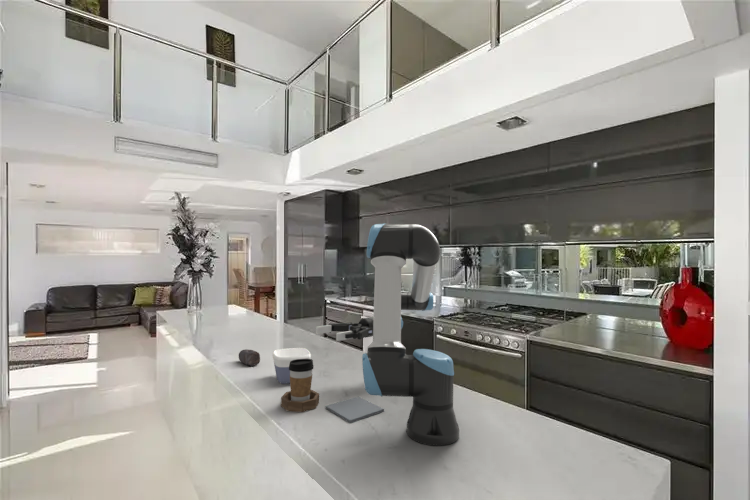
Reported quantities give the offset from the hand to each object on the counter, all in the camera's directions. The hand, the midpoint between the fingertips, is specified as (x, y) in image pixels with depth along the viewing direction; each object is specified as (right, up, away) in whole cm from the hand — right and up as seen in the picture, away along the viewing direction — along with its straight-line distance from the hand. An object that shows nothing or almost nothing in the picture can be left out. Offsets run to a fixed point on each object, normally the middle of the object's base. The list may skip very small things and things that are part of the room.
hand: (326, 333), depth 133 cm
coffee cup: (-8, -23, -8) cm, 25 cm away
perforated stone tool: (-42, -24, +39) cm, 62 cm away
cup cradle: (-8, -23, -8) cm, 25 cm away
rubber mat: (+11, -23, -11) cm, 28 cm away
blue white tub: (-17, -23, +18) cm, 34 cm away
